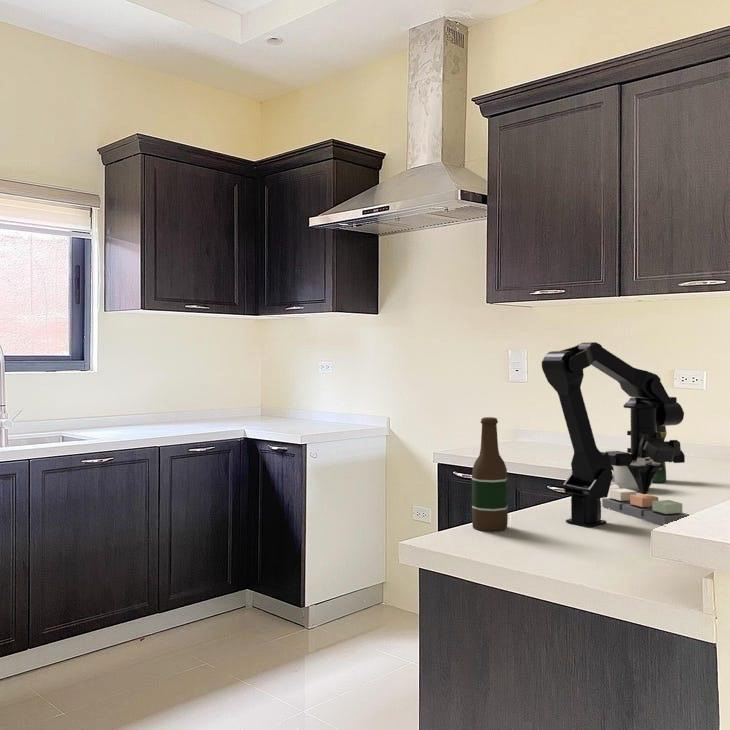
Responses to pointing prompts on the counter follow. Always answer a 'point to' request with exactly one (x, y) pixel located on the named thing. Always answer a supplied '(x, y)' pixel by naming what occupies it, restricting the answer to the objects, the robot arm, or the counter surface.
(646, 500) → the terracotta button
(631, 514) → the button bank
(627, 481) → the teacup
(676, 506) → the sage button
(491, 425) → the beer bottle
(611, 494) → the cream button
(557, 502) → the counter surface
